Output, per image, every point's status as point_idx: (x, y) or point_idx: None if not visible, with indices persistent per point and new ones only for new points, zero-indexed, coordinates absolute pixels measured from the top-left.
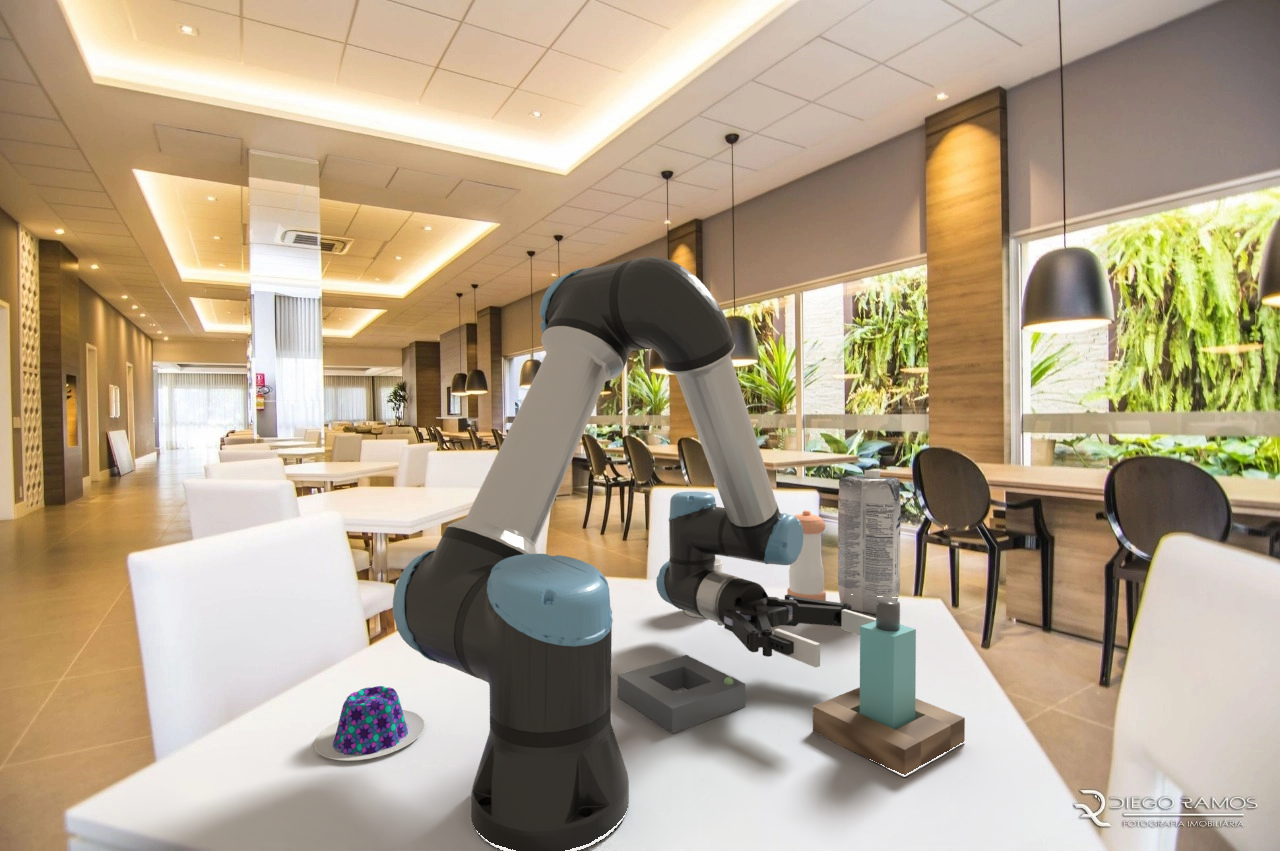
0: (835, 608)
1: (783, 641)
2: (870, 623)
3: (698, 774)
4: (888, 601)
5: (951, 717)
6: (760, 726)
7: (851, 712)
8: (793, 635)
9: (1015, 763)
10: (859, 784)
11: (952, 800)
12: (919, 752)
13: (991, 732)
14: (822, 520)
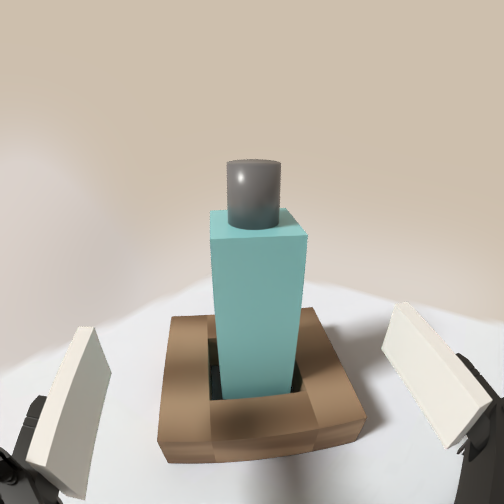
0: (30, 501)
1: (468, 364)
2: (267, 235)
3: None
4: (248, 162)
5: (184, 322)
6: (431, 471)
7: (313, 381)
8: (448, 352)
9: (175, 310)
10: (363, 341)
11: None
12: None
13: (122, 340)
14: None
